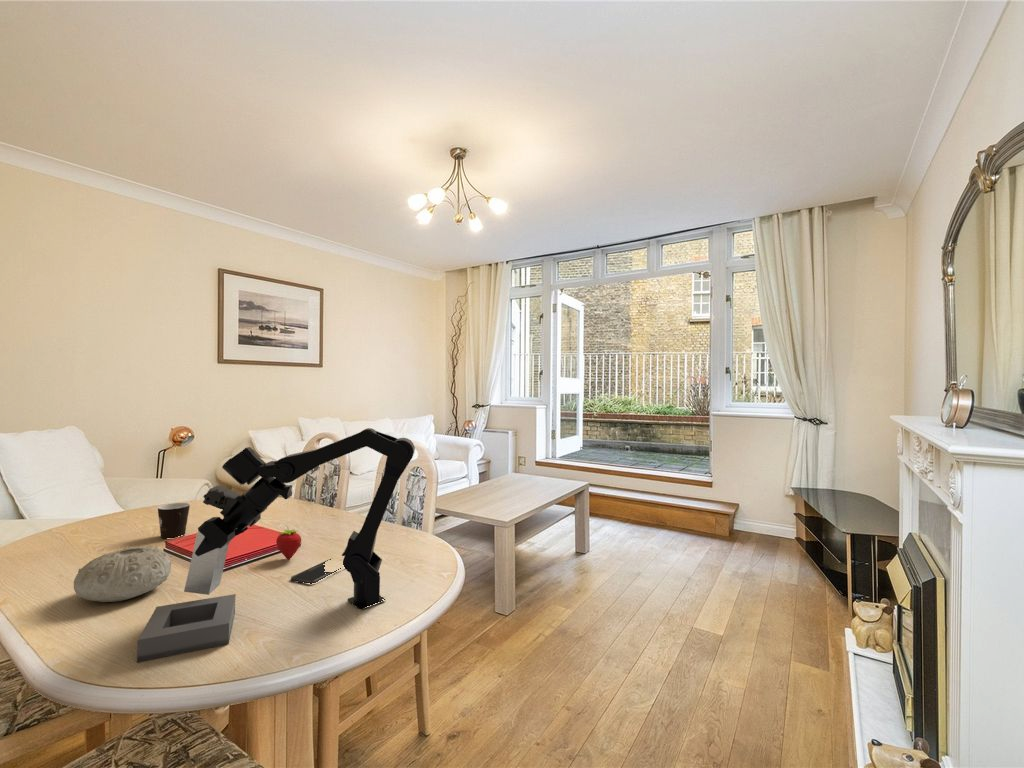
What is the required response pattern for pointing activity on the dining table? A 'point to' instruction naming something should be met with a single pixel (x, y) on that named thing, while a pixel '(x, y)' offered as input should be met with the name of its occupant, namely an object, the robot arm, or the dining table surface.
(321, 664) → the dining table surface
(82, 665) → the dining table surface
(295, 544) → the strawberry
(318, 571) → the phone
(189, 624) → the cradle
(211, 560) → the steel block
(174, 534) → the coffee mug
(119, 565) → the decorative shell
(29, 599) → the dining table surface
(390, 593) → the dining table surface
